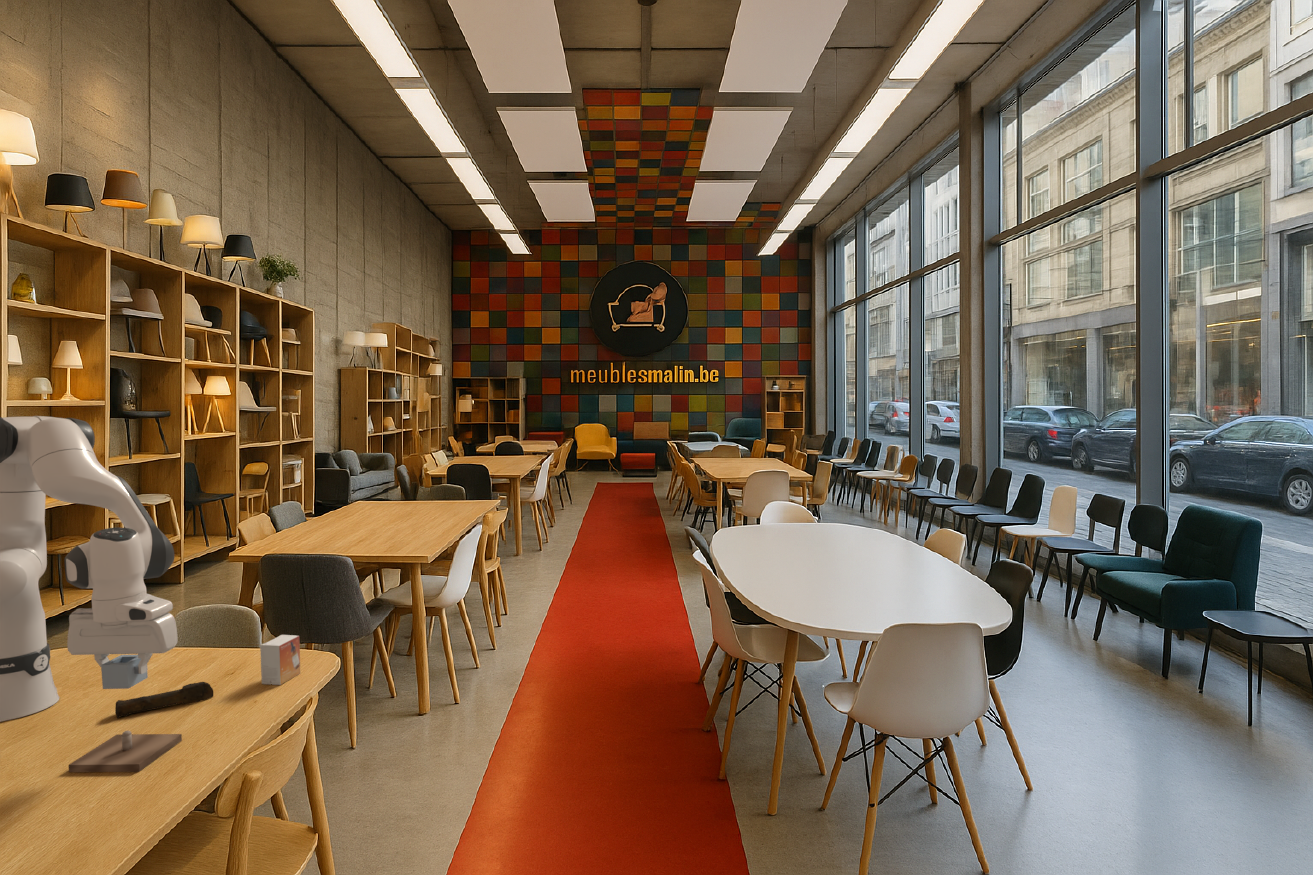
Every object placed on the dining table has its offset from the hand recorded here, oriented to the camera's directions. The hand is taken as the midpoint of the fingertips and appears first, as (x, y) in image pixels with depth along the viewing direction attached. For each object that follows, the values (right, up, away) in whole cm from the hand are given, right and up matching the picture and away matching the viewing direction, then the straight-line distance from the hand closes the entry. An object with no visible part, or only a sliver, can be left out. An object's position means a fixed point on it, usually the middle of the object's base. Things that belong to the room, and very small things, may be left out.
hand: (124, 673), depth 138 cm
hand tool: (-9, -17, +24) cm, 30 cm away
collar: (0, -2, 0) cm, 2 cm away
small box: (+11, -15, +39) cm, 43 cm away
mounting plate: (0, -17, +1) cm, 18 cm away
